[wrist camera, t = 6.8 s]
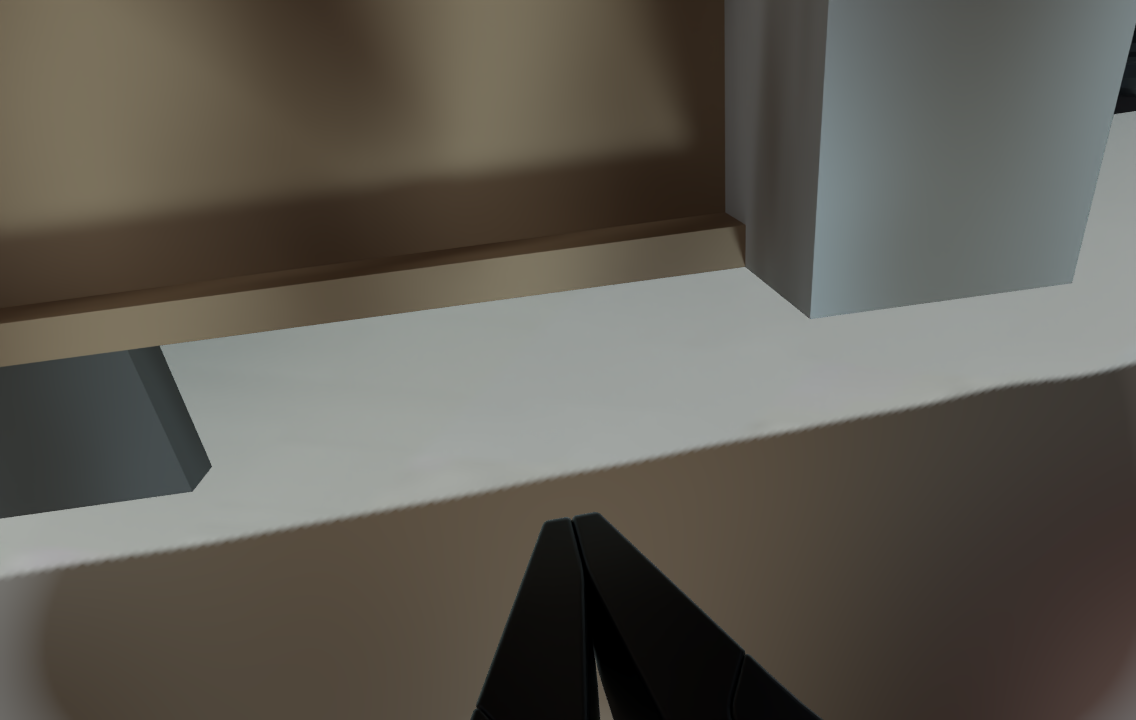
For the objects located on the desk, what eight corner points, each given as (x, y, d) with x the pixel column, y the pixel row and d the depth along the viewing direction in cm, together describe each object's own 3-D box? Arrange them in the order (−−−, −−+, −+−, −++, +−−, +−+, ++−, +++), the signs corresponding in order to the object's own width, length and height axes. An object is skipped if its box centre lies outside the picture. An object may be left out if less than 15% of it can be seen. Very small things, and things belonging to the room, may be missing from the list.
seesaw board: (938, -258, 10) (1270, -523, 6) (869, 374, 15) (1018, 497, 11) (-403, -104, 10) (-1200, -266, 5) (-16, 498, 15) (-249, 682, 10)
